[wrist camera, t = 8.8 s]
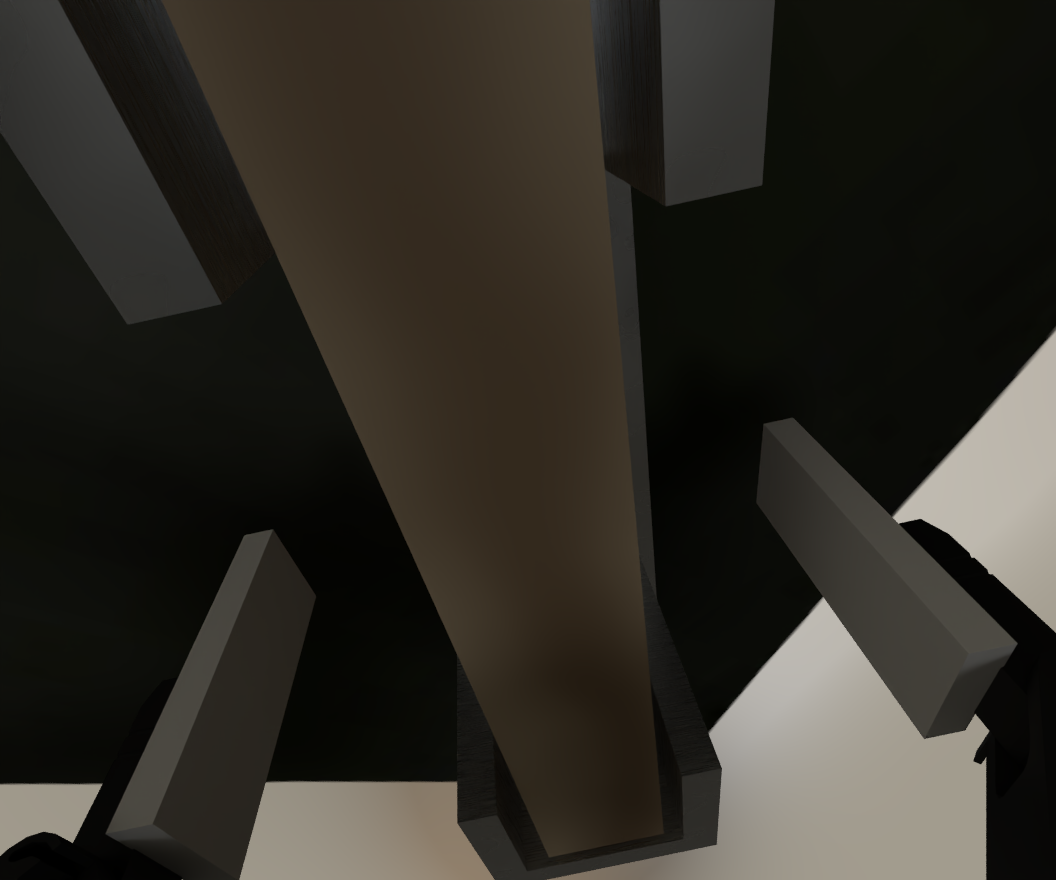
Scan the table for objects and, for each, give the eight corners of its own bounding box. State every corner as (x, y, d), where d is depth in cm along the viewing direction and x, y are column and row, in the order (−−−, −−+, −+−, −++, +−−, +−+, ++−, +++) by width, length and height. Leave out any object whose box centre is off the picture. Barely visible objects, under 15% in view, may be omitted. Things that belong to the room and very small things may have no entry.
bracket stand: (472, 642, 29) (479, 900, 20) (144, -152, 12) (-960, -971, 3) (652, 604, 29) (742, 847, 20) (590, -255, 11) (1085, -1491, 2)
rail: (531, 713, 22) (548, 857, 18) (266, -48, 8) (86, -169, 4) (625, 693, 22) (663, 833, 18) (511, -104, 8) (563, -280, 4)
